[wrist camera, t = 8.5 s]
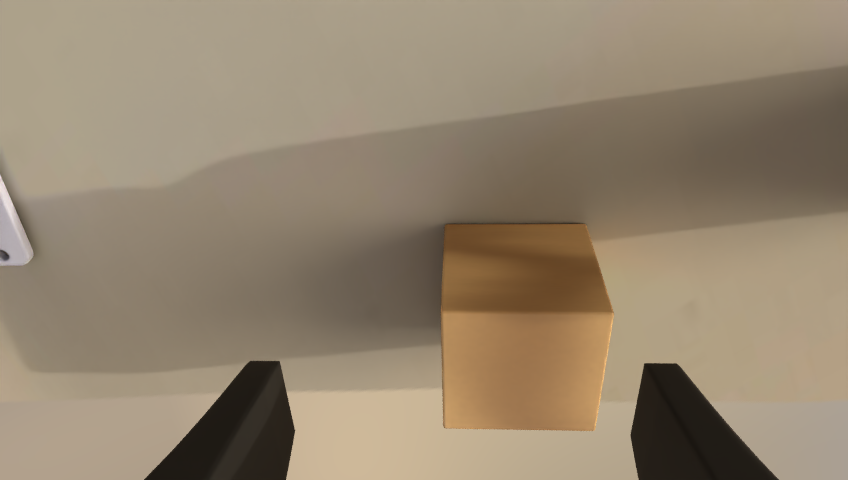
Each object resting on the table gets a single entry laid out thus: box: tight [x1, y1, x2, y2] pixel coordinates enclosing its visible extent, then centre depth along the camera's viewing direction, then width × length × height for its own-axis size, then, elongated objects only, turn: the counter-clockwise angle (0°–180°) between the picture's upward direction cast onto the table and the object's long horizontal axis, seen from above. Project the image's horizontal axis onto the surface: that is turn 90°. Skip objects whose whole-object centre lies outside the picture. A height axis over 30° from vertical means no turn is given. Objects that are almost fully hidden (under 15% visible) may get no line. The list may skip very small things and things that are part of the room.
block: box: [441, 224, 614, 431], centre depth 22 cm, size 5×5×5 cm
